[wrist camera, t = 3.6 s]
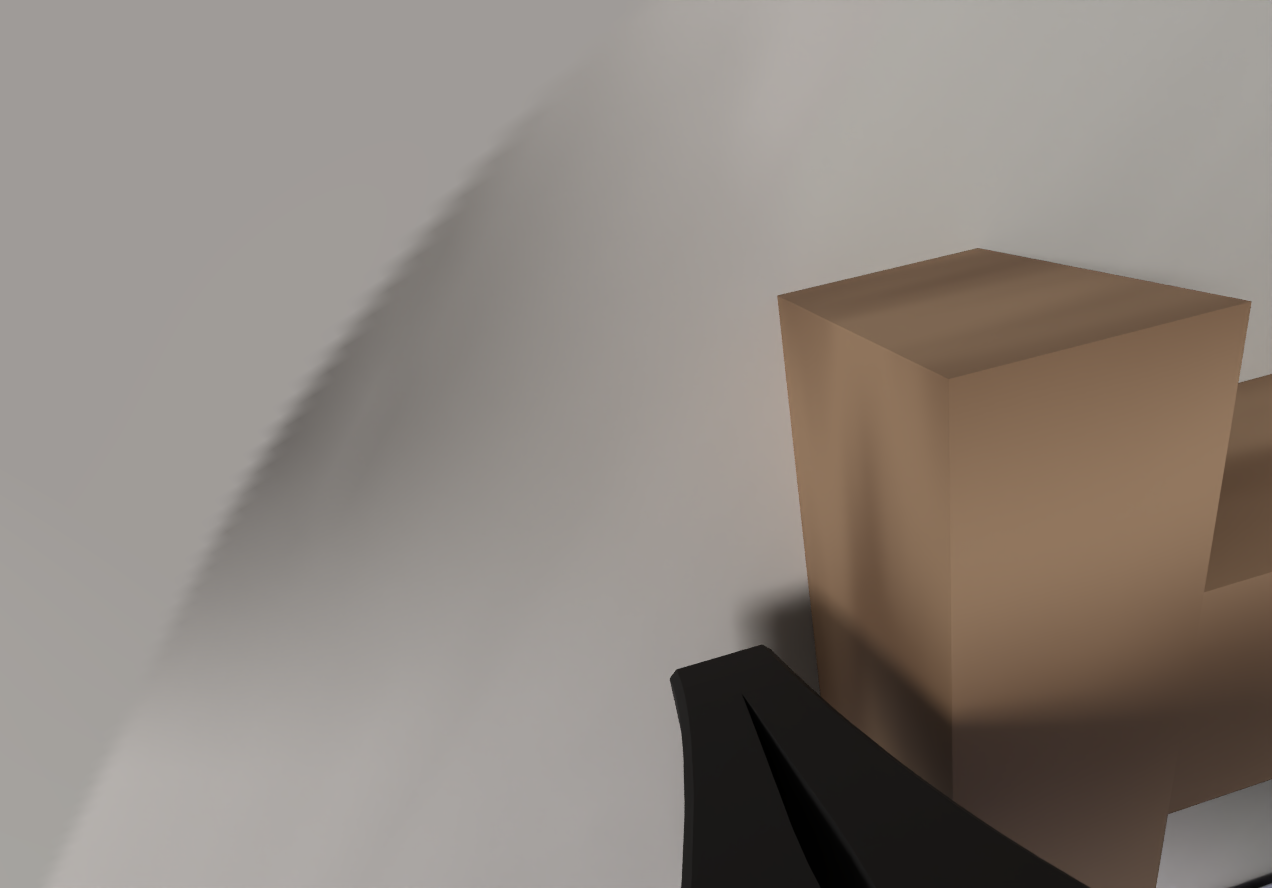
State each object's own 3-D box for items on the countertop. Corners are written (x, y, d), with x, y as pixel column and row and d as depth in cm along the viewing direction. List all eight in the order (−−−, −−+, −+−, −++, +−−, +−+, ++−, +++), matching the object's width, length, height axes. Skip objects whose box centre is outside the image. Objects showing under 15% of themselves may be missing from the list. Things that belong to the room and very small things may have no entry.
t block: (1282, 660, 15) (1538, 823, 11) (831, 803, 14) (955, 1035, 10) (1398, 147, 11) (1853, 146, 7) (777, 294, 10) (949, 380, 6)
